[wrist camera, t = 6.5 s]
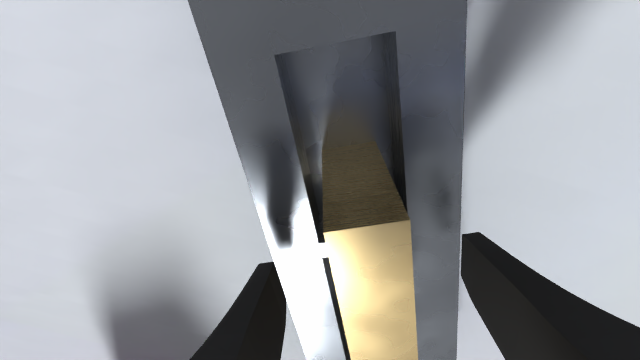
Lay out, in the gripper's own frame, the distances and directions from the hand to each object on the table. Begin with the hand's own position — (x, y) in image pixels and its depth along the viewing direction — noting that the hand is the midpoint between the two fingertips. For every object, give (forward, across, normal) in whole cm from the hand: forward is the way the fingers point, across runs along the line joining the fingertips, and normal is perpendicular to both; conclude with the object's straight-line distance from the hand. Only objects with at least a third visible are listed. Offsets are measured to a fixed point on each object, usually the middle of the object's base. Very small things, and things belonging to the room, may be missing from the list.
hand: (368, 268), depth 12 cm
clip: (+4, 0, 0) cm, 4 cm away
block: (+4, 0, 0) cm, 4 cm away
